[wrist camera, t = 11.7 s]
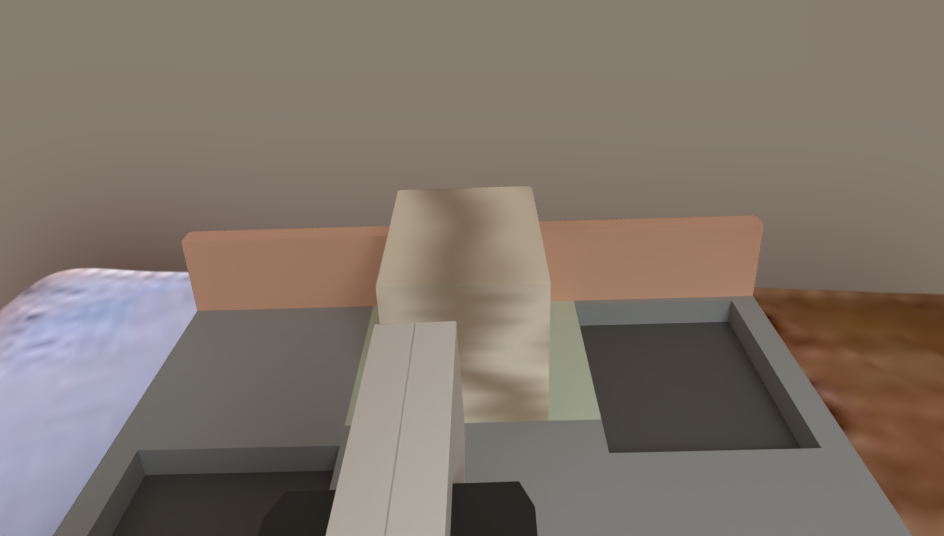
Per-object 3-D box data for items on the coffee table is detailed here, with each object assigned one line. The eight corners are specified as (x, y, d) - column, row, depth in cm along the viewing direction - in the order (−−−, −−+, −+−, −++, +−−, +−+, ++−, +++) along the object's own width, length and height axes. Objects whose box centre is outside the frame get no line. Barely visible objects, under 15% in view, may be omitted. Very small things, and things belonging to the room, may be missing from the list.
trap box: (741, 310, 51) (756, 215, 47) (1037, 792, 24) (1117, 648, 21) (210, 324, 51) (189, 231, 48) (-76, 808, 25) (-168, 671, 21)
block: (531, 301, 49) (531, 185, 45) (548, 420, 38) (550, 281, 34) (408, 305, 49) (398, 190, 45) (390, 425, 38) (375, 286, 34)
